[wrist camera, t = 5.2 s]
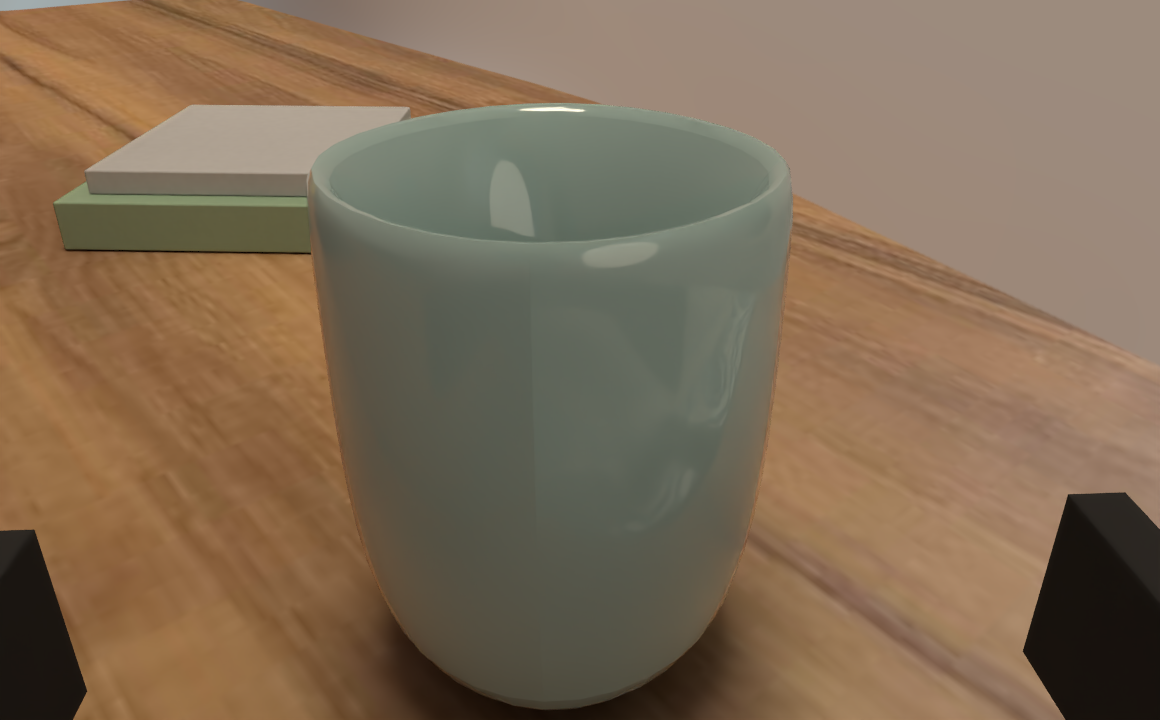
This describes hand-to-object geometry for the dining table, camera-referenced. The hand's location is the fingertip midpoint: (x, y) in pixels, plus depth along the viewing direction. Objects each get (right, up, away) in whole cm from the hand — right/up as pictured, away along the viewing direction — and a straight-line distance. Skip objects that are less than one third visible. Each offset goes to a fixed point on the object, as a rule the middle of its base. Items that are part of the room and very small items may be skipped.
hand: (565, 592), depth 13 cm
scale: (-13, +10, +32) cm, 36 cm away
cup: (0, -3, +8) cm, 8 cm away
